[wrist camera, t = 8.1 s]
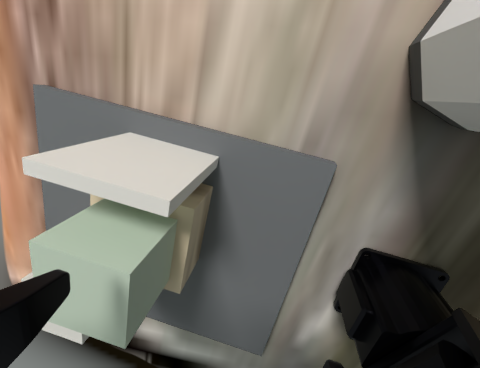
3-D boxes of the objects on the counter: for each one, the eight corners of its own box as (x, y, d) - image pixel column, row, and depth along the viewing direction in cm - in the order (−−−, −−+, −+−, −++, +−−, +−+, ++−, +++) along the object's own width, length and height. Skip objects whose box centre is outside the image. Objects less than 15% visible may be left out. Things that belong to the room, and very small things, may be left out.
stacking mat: (334, 161, 17) (379, 223, 9) (262, 346, 25) (249, 474, 16) (45, 85, 19) (-141, 76, 11) (59, 277, 27) (-45, 360, 18)
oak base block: (213, 186, 18) (194, 209, 15) (198, 259, 21) (179, 294, 17) (128, 162, 19) (90, 178, 15) (124, 235, 22) (90, 264, 18)
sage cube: (177, 219, 15) (130, 274, 11) (168, 280, 17) (124, 348, 12) (105, 197, 16) (28, 240, 11) (103, 259, 17) (38, 317, 13)
